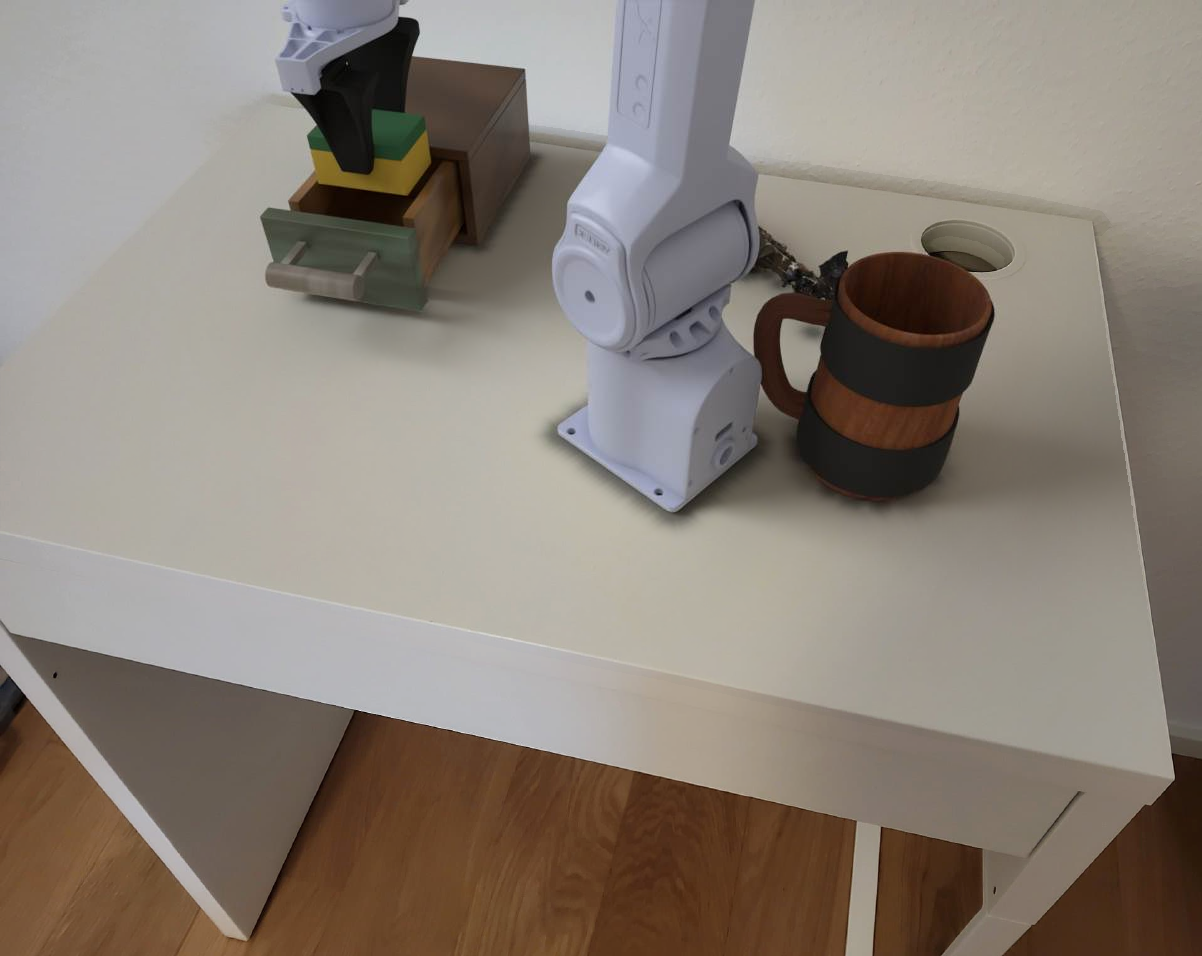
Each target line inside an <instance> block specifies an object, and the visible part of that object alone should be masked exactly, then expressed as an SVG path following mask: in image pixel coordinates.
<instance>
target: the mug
mask: <svg viewBox="0 0 1202 956" xmlns="http://www.w3.org/2000/svg"><path fill="white" fill-rule="evenodd" d="M995 316H996V313H995V306H994V302H993V300H992V298H991V295H990V293H989V291H988V288H986V287H985V285H984V284H983V283H982V282H981V281H980V280H979V279H978V278H977V277H976V276H975V275H974V274H972V273H971V272H970V271H968V270H967V269H965V268H963V267H962V266H959V265H957V264H955V263H954V262H951V261H949V260H946V259H943V258H940V257H937V256H933V255H929V254H924V253H918V252H913V251H911V252H909V251H887V252H878V253H874V254H871V255H870V254H869V255H867V256H864V257H862V258H860V259H857V260H856V261H854V262H852V264H850V265H848V268H847V269H846V270H845V272H844V273H843V274H842V275H841V276H840V277H839V279H838V280H837V283H836V287H835V292H834V297H833V300H825V298H821V299H818V298H814V297H811V296H807V295H803V294H798V293H793V292H785V293H783V292H782V293H778V294H777V295H775V296H772V297H771V298H770V299H768V300H767V301H766V302H764V304H763V305H762V306H761V308H760V310H759V311H758V313H757V315H756V318H755V321H754V326H753V336H752V338H753V339H752V340H753V348H752V349H753V356H754V357H755V358H756V359H757V360H758V361H759V362H760V364H761V369H762V378H761V385H760V387H761V388H762V390H763V392H764V394H765V395H766V397H767V399H768V400H769V401H770V403H771V404H772V405H773V406H774V407H775V408H776V409H777V410H778V411H779V412H781V413H782V414H784V415H786V416H787V417H791V418H793V419H795V420H798V422H797V427H796V431H795V441H796V446H797V449H798V452H799V455H800V456H801V458H802V460H803V462H804V463H805V464H806V466H807V468H808V469H809V470H810V471H811V473H812V474H813V475H814V476H815V478H816V479H818V480H819V481H820V482H821V483H823V484H824V485H825V486H826V487H829V488H830V489H831V490H833V491H835V492H837V493H840V494H842V495H844V496H847V497H850V498H854V499H857V500H862V501H867V502H868V501H869V502H889V501H896V500H899V499H902V498H906V497H908V496H910V495H913V494H915V493H918V492H919V491H922V490H923V489H926V488H927V487H928V486H929V485H931V484H932V483H933V482H934V481H935V480H936V479H937V478H938V476H939V475H940V473H941V471H942V470H943V467H944V465H945V462H946V460H947V457H948V455H949V452H950V450H951V448H952V443H953V440H954V436H955V433H956V429H957V426H958V422H959V418H960V403H961V400H962V398H963V394H964V393H965V391H967V390H968V389H969V387H970V386H971V384H972V382H973V380H974V378H975V376H976V375H975V374H976V371H977V368H978V366H979V363H980V360H981V356H982V354H983V351H984V348H985V346H986V342H987V339H988V338H989V334H990V331H991V329H992V326H993V324H994V321H995ZM787 319H788V320H793V321H798V322H801V323H804V324H805V323H806V324H809V325H814V326H820V327H824V331H823V335H822V336H821V341H820V345H819V349H820V350H819V351H820V355H819V359H818V363H817V367H816V370H815V371H814V372H813V373H812V375H811V376H810V378H809V382H808V385H807V389H806V391H802V390H799V389H796V388H795V387H794V386H793V385H792V384H791V383H790V381H789V378H788V376H787V374H786V370H785V365H784V362H783V356H782V350H781V349H782V348H781V331H782V330H781V329H782V324H783V321H784V320H787Z"/></svg>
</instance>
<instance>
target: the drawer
mask: <svg viewBox="0 0 1202 956" xmlns="http://www.w3.org/2000/svg"><path fill="white" fill-rule="evenodd" d="M430 158H431V164H430V165H429V167H428V168H427V170H426V171H425V172H424V174H423V175H422V176H421V178H420V179H419V180H418V182H417V183H416V184H415V186H414V187H413V189H412V190H411V191H410V193H409V194H408V195H407V196H405V195H398V194H391V193H384V192H376V191H369V190H362V189H354V188H347V187H340V186H333V185H325V184H319V183H318V180H317V175H316V171H315V170H314V171H313V172H312V173H311V174H310V175H309V176H308V177H307V179H305V181H303V183H301V185H300V186H299V188H297V190H296V191H295V192H294V193H293V194H292V195H291V196H290V198H289V199H288V200H287V203H288V206H289V209H283V208H275V207H267V208H266V209H265V210H264V211H263V212H262V213H261V214H260V215H259V218H260V222H261V226H262V229H263V232H264V235H265V238H266V243H267V245H268V249H269V252H270V255H271V258H272V261H271V262H270V263H268V264H267V266H266V268H265V273H264V278H265V279H264V280H265V283H266V285H267V286H268V287H269V288H273V289H279V290H282V291H289V292H297V293H303V294H309V295H314V296H321V297H327V298H333V299H340V300H345V301H352V302H358V303H365V304H370V305H376V306H377V305H378V306H383V307H391V308H396V309H402V310H407V311H408V310H409V311H415V312H423V310H424V309H425V307H426V305H427V304H428V296H427V289H426V284H427V283H428V281H429V279H430V278H431V277H432V274H433V273H434V271H435V270H436V268H437V267H438V265H439V263H440V262H441V260H442V259H443V257H444V256H445V254H446V252H447V251H448V250H449V247H451V245H452V243H453V242H452V241H453V240H454V238H455V237H456V235H457V233H458V232H459V230H460V229H461V227H462V226H463V224H464V222H465V221H466V218H465V210H464V202H463V194H462V185H461V177H460V169H459V161H458V160H451V159H443V158H436V157H430Z"/></svg>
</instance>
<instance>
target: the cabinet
mask: <svg viewBox="0 0 1202 956" xmlns="http://www.w3.org/2000/svg"><path fill="white" fill-rule="evenodd" d="M526 75H527V74H526V68H522V67H514V66H504V65H496V64H488V63H487V64H486V63H479V62H478V63H477V62H468V61H461V60H451V59H441V58H434V57H426V56H425V57H424V56H415V55H412V58H411V63H410V68H409V73H408V79H407V89H406V102H405V113H408V114H416V115H424V117H425V123H426V130H427V137H428V144H429V151H430V157H436V158H443V159H451V160H458V161H459V169H460V177H461V185H462V194H463V202H464V210H465V218H466V221H465V222H464V224H463V226H462V227H461V229H460V230H459V232H458V233H457V235H456V237H455V238H454V240H453V241H452V243H456V244H457V243H458V244H465V245H470V246H471V245H472V246H479V245H480V243H481V241H482V240H483V239H484V237H485V235H486V233H487V231H488V230H489V228H490V226H491V224H492V223H493V222H494V221H495V218H496V216H497V215H498V213H499V212H500V210H501V208H502V207H503V205H504V203H505V201H506V200H507V198H508V196H509V194H510V193H511V191H512V190H513V188H514V186H515V185H516V183H517V181H518V180H519V178H520V176H521V175H522V173H523V171H524V169H525V167H526V166H527V165H528V163H529V161H530V159H531V143H530V141H531V140H530V126H529V123H530V122H529V109H528V107H529V106H528V92H527V91H528V90H527V79H526V78H527V77H526Z"/></svg>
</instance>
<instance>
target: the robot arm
mask: <svg viewBox="0 0 1202 956" xmlns="http://www.w3.org/2000/svg"><path fill="white" fill-rule="evenodd" d="M409 1H410V0H288V1H287V2H285V4H283V5H282V6H281V7H280V8H279V10H280V14H281V15H280V16H281V19H282V20H283V21H284V22H286V23H287V22H288V23H290V26H289V30H288V32H287V36H286V40H285V43H284V46H283V48H282V49H281V51H280V52H279V53H278V54H277V55H276V56H275V57H274V62H275V66H276V69H277V73H278V78H279V81H280V85H281V90H282V91H283V92H285V93H290V94H291V95H292V96H293V97H294V98H295V99H296V101H298V102H299V104H300V105H301V106H302V107H303V108H304V109H305V110H306V112H307V113H308V115H309V116H310V117H311V119H312V120H313V122H314V123H315V125H317V126H318V128H319V129H320V131H321V133H322V135H323V136H324V138H325V140H326V142H327V144H328V146H329V148H330V150H331V152H332V154H333V155H334V157H335V159H336V161H337V163H338V165H339V167H340V169H341V171H342V172H349V173H356V174H364V175H369V174H370V173H371V172H372V171H373V167H374V144H373V133H372V109H375V110H383V111H391V112H400V113H405V102H406V89H407V79H408V73H409V68H410V63H411V58H412V56H414V55H413V54H414V50H415V47H416V45H417V42H418V40H419V37H420V34H421V29H420V23H419V20H417V19H416V18H413V17H408V16H400V14H399V13H400V6H404V5H406V4H408V2H409ZM755 1H756V0H616V4H615V6H616V7H615V19H614V35H613V51H612V65H611V66H612V67H611V77H610V78H611V80H610V94H609V108H608V109H609V111H608V123H607V124H608V125H607V126H608V127H607V140H606V144H605V146H604V148H603V149H602V150H601V152H600V154H599V155H598V157H597V158H596V160H595V162H593V164H592V166H591V167H590V168H589V170H588V171H587V173H585V175H584V177H583V178H582V179H581V181H580V182H579V183H578V185H577V187H576V188H575V190H574V191H573V192H572V194H571V195H570V197H569V199H568V201H567V203H566V220H565V221H566V222H565V227H564V231H563V234H562V236H561V237H560V239H559V240H558V242H557V243H556V244H555V247H554V250H553V252H552V259H551V277H552V285H553V289H554V293H555V295H556V299H557V302H558V304H559V306H560V308H561V310H562V312H563V314H564V316H565V317H566V319H567V320H568V322H569V323H570V325H571V326H572V327H573V328H574V329H575V331H577V332H578V333H579V334H580V335H581V336H582V337H583V338H585V339H586V354H587V355H586V356H587V357H586V358H587V359H586V361H587V364H586V365H587V404H586V405H585V406H583V407H581V408H580V409H579V410H578V411H576V412H575V413H573V414H572V415H570V416H569V417H568V418H566V419H565V420H563V421H562V422H560V423H559V424H558V425H557V434H558V435H559V436H560V437H561V438H563V439H564V440H566V441H567V442H569V443H570V444H571V445H573V446H574V447H576V448H577V449H578V450H580V451H581V452H582V453H584V454H585V455H587V456H588V457H590V458H591V459H593V460H594V461H595V462H597V463H598V464H599V465H600V466H603V467H604V468H605V469H606V470H608V471H610V472H611V473H612V474H613V475H615V476H617V477H618V478H620V479H621V480H623V481H624V482H625V483H626V484H628V485H630V486H631V487H633V488H634V489H635V490H636V491H638V493H639V492H640V494H642V495H644V496H645V497H646V498H648V499H649V500H651V501H652V502H654V503H655V504H657V505H658V506H659V507H661V508H662V509H664V510H665V511H667V512H669V513H676V512H678V511H679V510H681V509H682V508H683V507H684V506H685V505H687V504H688V503H689V502H691V501H692V500H693V499H694V498H696V496H698V495H699V494H700V493H701V492H702V491H704V490H705V489H706V488H707V487H708V486H710V485H711V484H712V483H714V481H715V480H717V479H718V478H719V477H721V475H723V474H724V473H725V472H726V471H727V470H729V469H730V468H731V467H732V466H733V465H735V464H736V463H737V462H738V461H740V459H742V458H743V457H744V456H746V455H747V454H748V453H749V452H750V451H751V450H753V449H754V448H755V447H756V446H757V444H758V441H759V440H758V439H759V437H758V435H756V433H754V432H753V431H754V425H755V421H756V420H755V419H756V412H757V408H758V401H759V395H760V389H761V378H762V369H761V364H760V362H759V361H758V360H757V359H756V358H755V357H754V354H752V353H750V352H749V351H748V350H747V349H745V347H744V346H743V345H741V343H740V342H739V341H738V340H737V339H736V338H735V337H734V336H733V335H732V333H731V331H730V330H729V329H728V326H727V325H726V324H725V321H724V318H723V317H722V316H723V311H724V309H725V307H726V306H727V305H729V304H730V301H731V292H732V284H734V283H735V282H737V281H738V280H741V279H742V278H744V277H746V276H747V274H749V273H750V272H751V271H752V270H751V269H752V267H753V266H754V264H755V262H756V259H757V257H758V252H759V244H760V237H759V228H758V225H759V224H758V219H757V215H756V205H755V203H756V201H755V200H756V199H755V198H756V190H757V186H758V182H759V172H758V170H757V169H756V168H755V167H754V166H753V165H752V164H751V163H750V162H749V160H748V159H747V158H746V157H745V156H744V155H743V154H742V153H741V152H740V151H739V150H738V149H736V148H735V147H734V146H732V145H730V141H731V137H732V131H733V126H734V120H735V114H736V109H737V103H738V97H739V92H740V86H741V80H742V75H743V69H744V63H745V58H746V52H747V47H748V41H749V35H750V30H751V25H752V19H753V14H754V8H755ZM750 270H751V271H750ZM658 494H659V495H658ZM660 494H661V495H660Z"/></svg>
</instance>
